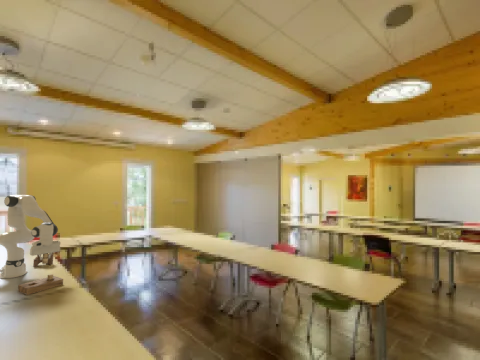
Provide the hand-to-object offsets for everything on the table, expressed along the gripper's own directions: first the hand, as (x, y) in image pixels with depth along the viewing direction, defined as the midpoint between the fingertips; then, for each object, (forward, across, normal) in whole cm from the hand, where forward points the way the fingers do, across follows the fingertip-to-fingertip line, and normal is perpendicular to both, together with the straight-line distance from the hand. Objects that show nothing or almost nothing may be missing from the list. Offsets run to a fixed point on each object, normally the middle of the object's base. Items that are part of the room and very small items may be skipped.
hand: (45, 258), depth 208 cm
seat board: (+20, +5, +11) cm, 23 cm away
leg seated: (+20, -1, +10) cm, 22 cm away
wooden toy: (+19, -16, -55) cm, 60 cm away
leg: (+4, 0, 0) cm, 4 cm away
